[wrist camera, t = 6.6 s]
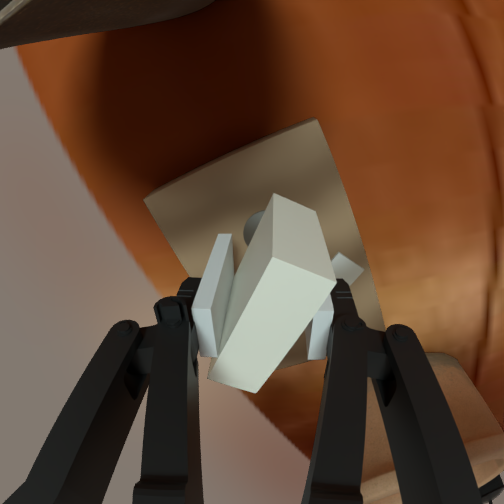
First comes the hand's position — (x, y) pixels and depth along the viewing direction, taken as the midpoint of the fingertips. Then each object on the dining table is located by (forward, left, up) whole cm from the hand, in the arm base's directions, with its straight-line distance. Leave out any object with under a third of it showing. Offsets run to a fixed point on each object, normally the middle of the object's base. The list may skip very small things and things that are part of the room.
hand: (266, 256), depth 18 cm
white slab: (+2, 0, -2) cm, 3 cm away
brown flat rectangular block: (+3, +2, -5) cm, 6 cm away
